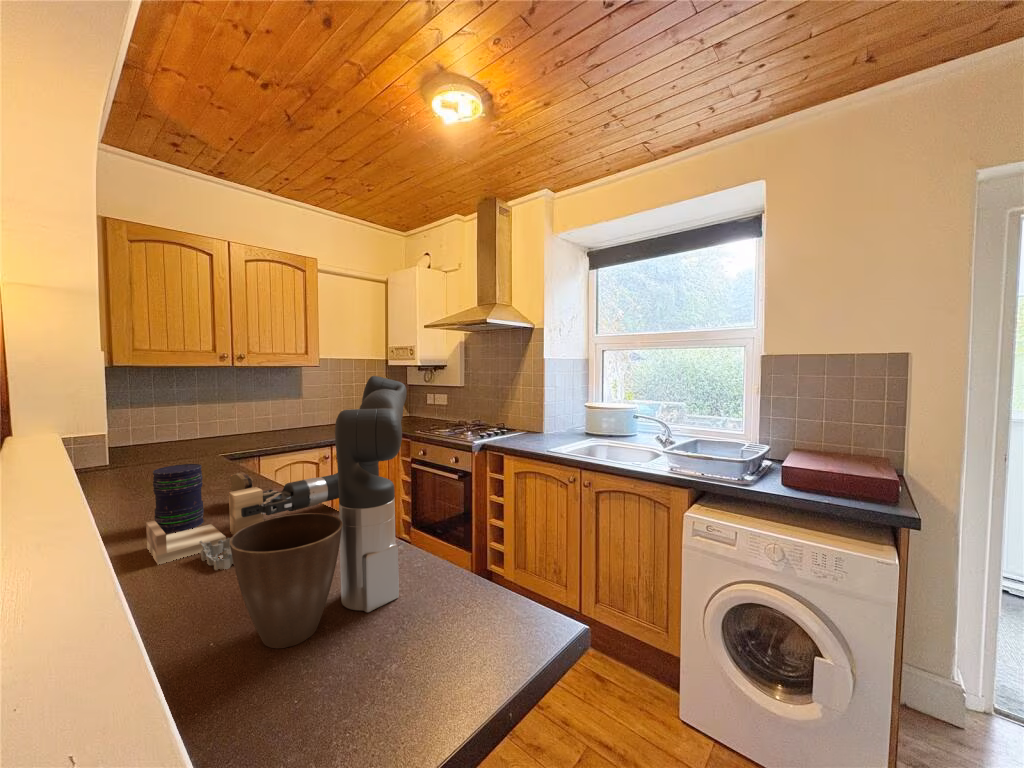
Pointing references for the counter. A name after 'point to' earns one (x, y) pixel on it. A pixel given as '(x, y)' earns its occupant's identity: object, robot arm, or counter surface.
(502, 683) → the counter surface
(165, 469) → the storage jar
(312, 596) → the plant pot
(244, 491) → the oak plank block
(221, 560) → the egg carton
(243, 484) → the wooden carving
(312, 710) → the counter surface
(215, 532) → the birch board
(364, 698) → the counter surface
